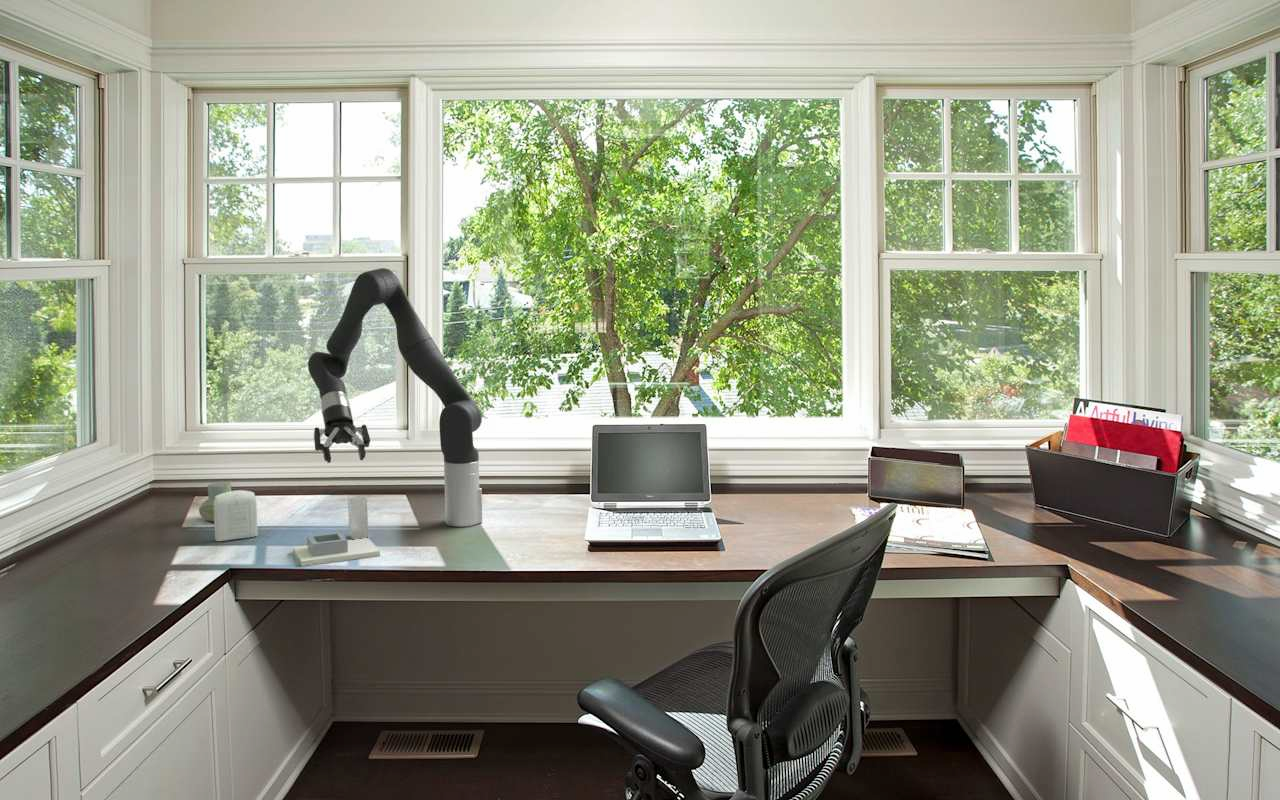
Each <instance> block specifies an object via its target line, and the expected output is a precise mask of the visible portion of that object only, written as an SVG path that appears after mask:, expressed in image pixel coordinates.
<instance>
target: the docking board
mask: <svg viewBox="0 0 1280 800" xmlns="http://www.w3.org/2000/svg"><path fill="white" fill-rule="evenodd" d="M306 541H307V542H306V543H307V545H300V546H293V547H292V551H293V554H294V553H295V554H294V556H295V555H296V556H295V557H296V558H297V560H298V563H299V564H300V566H301V567H307V565H308V566H314V565H315V566H316V565H320V564H321V565H323V564H328V563H329V564H330V563H336V562H345V561H351V560H359V559H365V558H367V557H368V558H373V557H374V556H375V557H380V556H381V552H380V549H378V547H377V546H376V545H375V543H373V542H372V540H371V539H370V538H369V537H368V538H362V539H354V540H352V539H347V538H346V537H345V535H344V534H343V532H342V531H339V532H329V533H321V534H315V535H314V534H313V535H312V534H311V535H307V536H306Z"/></svg>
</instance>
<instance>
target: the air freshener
mask: <svg viewBox="0 0 1280 800" xmlns="http://www.w3.org/2000/svg"><path fill="white" fill-rule="evenodd" d="M229 491H232V484H231V482H227V481H218V482H212V483H210V484H208V485H207V498H208V499H207V500H205V501H204V502H202V503H201V505H199V508H198V513H199V515H200V516H201V517H202V518H203V519H204V520H206V521H209V522H211V523H214V500H215V496H217V495H219V494H222V493H225V492H229Z"/></svg>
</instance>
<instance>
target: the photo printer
mask: <svg viewBox="0 0 1280 800" xmlns="http://www.w3.org/2000/svg"><path fill="white" fill-rule="evenodd" d="M257 507H258V506H257V497H256V495H255V492H253V491H250V490H244V489H243V490H240V489H239V490H238V489H237V490H231V491H229V492H225V493H222V494H219V495H217V496H215V500H214V522H213V523H214V539H215V541H216V542H225V541H226V542H227V541H231V540H232V541H233V540H241V539H248V538H255V536H256V537H258V534H259V533H258V511H257Z"/></svg>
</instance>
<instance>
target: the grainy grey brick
mask: <svg viewBox="0 0 1280 800" xmlns="http://www.w3.org/2000/svg"><path fill="white" fill-rule="evenodd" d="M347 506H348V507H347V508H348V509H347V511H348V512H347V513H348V514H347V515H348V533H349V534H348V536H349V535H350V536H349V538H350V539H351V538H352V539H359V538H362V539H363V538H367V537H368V538H369V519H368V515H369V514H368V500H367V498H366V497H365V496H355V497H354V496H353V497H347ZM352 539H351V540H352Z"/></svg>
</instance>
